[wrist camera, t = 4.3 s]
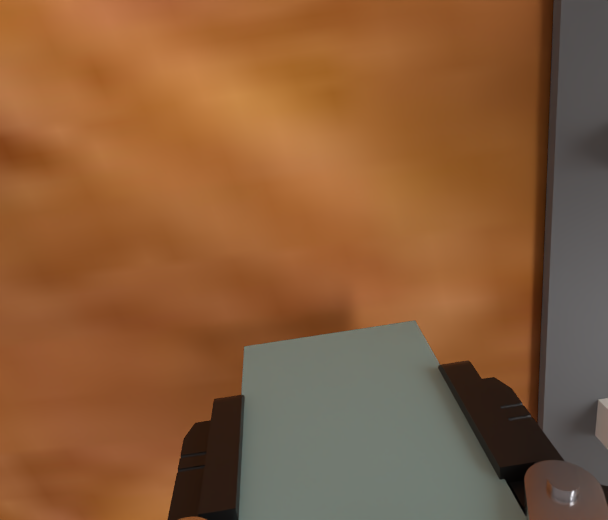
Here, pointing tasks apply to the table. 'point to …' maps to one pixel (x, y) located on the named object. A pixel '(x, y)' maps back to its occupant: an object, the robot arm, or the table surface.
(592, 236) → the strip
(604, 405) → the domino
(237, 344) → the table surface
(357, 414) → the domino
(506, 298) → the table surface
